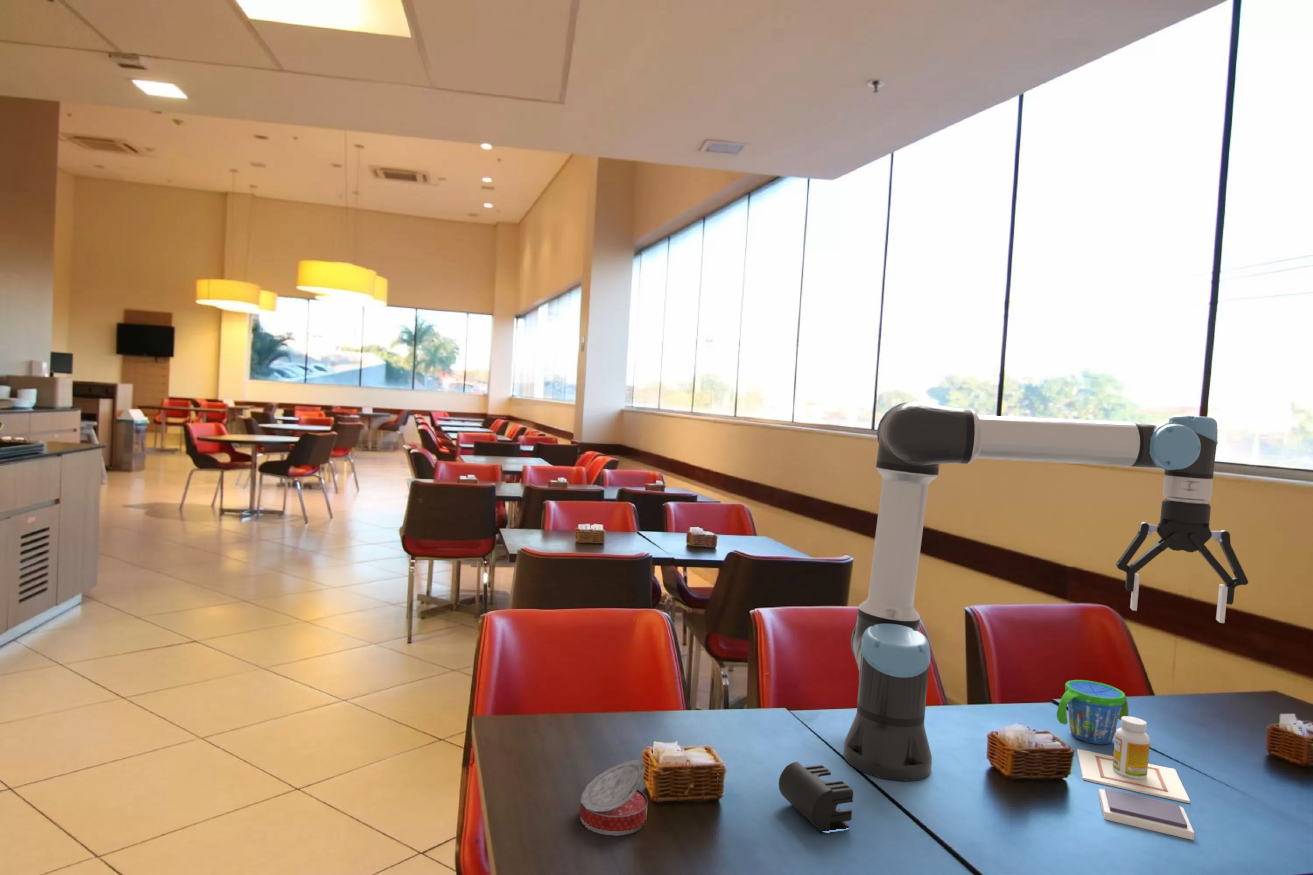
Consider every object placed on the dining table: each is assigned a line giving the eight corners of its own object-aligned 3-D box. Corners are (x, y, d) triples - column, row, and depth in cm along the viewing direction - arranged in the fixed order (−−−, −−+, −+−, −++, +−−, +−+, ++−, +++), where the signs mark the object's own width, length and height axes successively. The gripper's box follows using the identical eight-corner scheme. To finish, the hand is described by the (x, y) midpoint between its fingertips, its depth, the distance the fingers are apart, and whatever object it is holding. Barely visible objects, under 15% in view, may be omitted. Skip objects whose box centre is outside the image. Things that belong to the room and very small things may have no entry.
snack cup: (1073, 749, 155) (1077, 697, 154) (1038, 727, 165) (1043, 678, 165) (1145, 749, 157) (1149, 698, 157) (1106, 727, 168) (1111, 679, 167)
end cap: (776, 805, 125) (779, 762, 125) (815, 799, 128) (818, 758, 127) (811, 838, 116) (814, 792, 116) (852, 832, 118) (855, 787, 118)
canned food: (631, 867, 114) (627, 823, 109) (568, 841, 117) (562, 797, 112) (662, 801, 123) (661, 757, 118) (604, 779, 126) (600, 736, 121)
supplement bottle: (1152, 776, 144) (1157, 723, 144) (1137, 782, 141) (1142, 728, 141) (1121, 764, 148) (1126, 712, 148) (1106, 769, 145) (1111, 717, 145)
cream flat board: (1082, 779, 142) (1083, 776, 142) (1077, 750, 154) (1077, 748, 154) (1189, 803, 135) (1190, 800, 135) (1174, 771, 148) (1175, 768, 148)
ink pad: (1104, 818, 127) (1105, 807, 127) (1098, 795, 136) (1099, 784, 136) (1193, 839, 123) (1194, 828, 123) (1182, 814, 131) (1183, 803, 131)
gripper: (1110, 494, 148) (1100, 608, 149) (1275, 509, 138) (1264, 631, 139) (1106, 491, 155) (1097, 600, 156) (1263, 506, 145) (1252, 621, 146)
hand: (1175, 615), depth 148 cm, fingers open, 13 cm apart
